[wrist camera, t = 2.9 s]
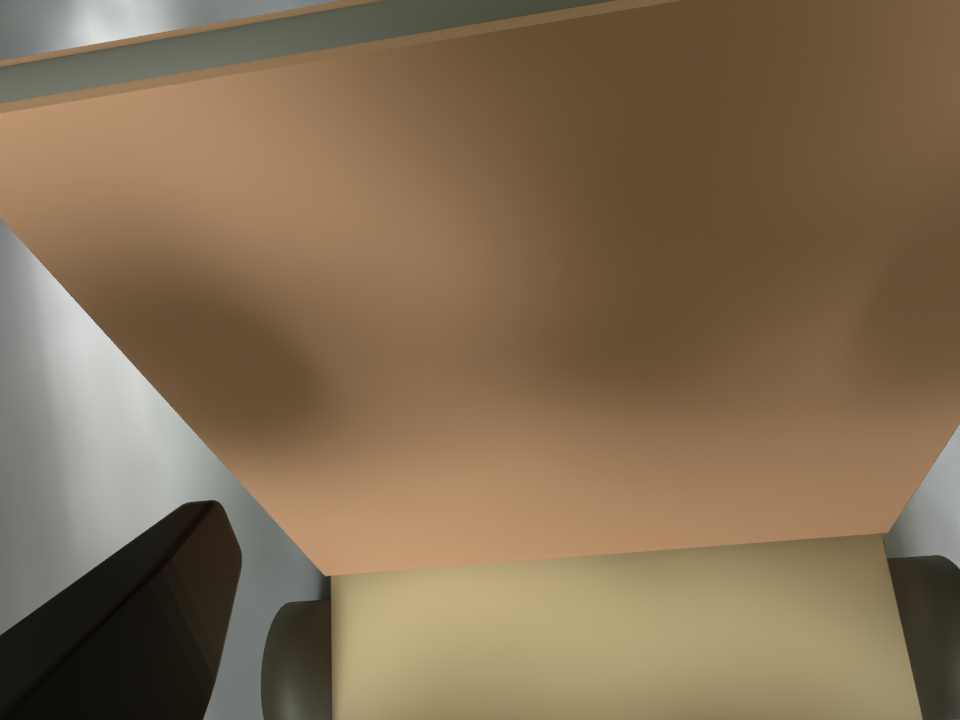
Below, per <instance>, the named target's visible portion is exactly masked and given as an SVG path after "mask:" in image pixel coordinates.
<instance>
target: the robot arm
mask: <svg viewBox="0 0 960 720" xmlns="http://www.w3.org/2000/svg"><path fill="white" fill-rule="evenodd" d="M241 568H242V553H241V549H240V546H239V543H238V541H237V538H236V536H235V534H234V531H233V529H232V526H231V524H230V521H229V519H228V517H227V514H226V512H225V510H224V508H223V506H222V505H221V504H220V503H219V502H217V501H215V500H208V501H197V502H188V503H185V504H183V505H181V506H180V507H178V508H177V509H176V510H174V511H173V512H171V513H170V514H169V515H167V516H166V517H164V518H163V519H162V520H160V521H159V522H157V523H156V524H155V525H153V526H152V527H150V528H149V529H148V530H146V531H145V532H144V533H142V534H141V535H139V536H138V537H137V538H135V539H134V540H132V541H131V542H130V543H128V544H127V545H125V546H124V547H123V548H121V549H120V550H119V551H117V552H116V553H114V554H113V555H112V556H110V557H109V558H107V559H106V560H105V561H103V562H102V563H100V564H99V565H98V566H96V567H95V568H93V569H92V570H91V571H89V572H88V573H87V574H85V575H84V576H82V577H81V578H80V579H78V580H77V581H75V582H74V583H73V584H71V585H70V586H68V587H67V588H66V589H64V590H63V591H61V592H60V593H59V594H57V595H56V596H55V597H53V598H52V599H50V600H49V601H48V602H46V603H45V604H43V605H42V606H41V607H39V608H38V609H36V610H35V611H34V612H32V613H31V614H29V615H28V616H27V617H25V618H24V619H23V620H21V621H20V622H18V623H17V624H16V625H14V626H13V627H11V628H10V629H9V630H7V631H6V632H4V633H3V634H2V635H0V720H203V718H204V716H205V713H206V710H207V707H208V704H209V701H210V698H211V694H212V691H213V688H214V685H215V682H216V678H217V674H218V670H219V666H220V662H221V658H222V653H223V649H224V644H225V640H226V636H227V631H228V627H229V622H230V618H231V613H232V609H233V604H234V600H235V595H236V591H237V587H238V582H239V578H240V573H241Z"/></svg>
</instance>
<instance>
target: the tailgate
mask: <svg viewBox="0 0 960 720" xmlns="http://www.w3.org/2000/svg"><path fill="white" fill-rule="evenodd" d="M0 218H1V219H2V220H3V221H4V222H5V223H6V224H7V226H8V227H9V228H10V229H11V230H12V231H13V232H14V233H15V234H16V235H17V237H18V238H19V239H20V240H21V241H22V242H23V243H24V244H25V245H26V246H27V248H28V249H29V250H30V251H31V252H32V253H33V254H34V255H35V256H36V258H37V259H38V260H39V261H40V262H41V263H42V264H43V265H44V266H45V267H46V269H47V270H48V271H49V272H50V273H51V274H52V275H53V276H54V277H55V279H56V280H57V281H58V282H59V283H60V284H61V285H62V286H63V287H64V288H65V290H66V291H67V292H68V293H69V294H70V295H71V296H72V297H73V298H74V299H75V301H76V302H77V303H78V304H79V305H80V306H81V307H82V308H83V309H84V311H85V312H86V313H87V314H88V315H89V316H90V317H91V318H92V319H93V320H94V322H95V323H96V324H97V325H98V326H99V327H100V328H101V329H102V330H103V332H104V333H105V334H106V335H107V336H108V337H109V338H110V339H111V340H112V341H113V343H114V344H115V345H116V346H117V347H118V348H119V349H120V350H121V351H122V353H123V354H124V355H125V356H126V357H127V358H128V359H129V360H130V361H131V362H132V364H133V365H134V366H135V367H136V368H137V369H138V370H139V371H140V372H141V373H142V375H143V376H144V377H145V378H146V379H147V380H148V381H149V382H150V383H151V385H152V386H153V387H154V388H155V389H156V390H157V391H158V392H159V393H160V394H161V396H162V397H163V398H164V399H165V400H166V401H167V402H168V403H169V404H170V406H171V407H172V408H173V409H174V410H175V411H176V412H177V413H178V414H179V415H180V417H181V418H182V419H183V420H184V421H185V422H186V423H187V424H188V425H189V426H190V428H191V429H192V430H193V431H194V432H195V433H196V434H197V435H198V436H199V438H200V439H201V440H202V441H203V442H204V443H205V444H206V445H207V446H208V447H209V449H210V450H211V451H212V452H213V453H214V454H215V455H216V456H217V457H218V459H219V460H220V461H221V462H222V463H223V464H224V465H225V466H226V467H227V468H228V470H229V471H230V472H231V473H232V474H233V475H234V476H235V477H236V478H237V480H238V481H239V482H240V483H241V484H242V485H243V486H244V487H245V488H246V489H247V491H248V492H249V493H250V494H251V495H252V496H253V497H254V498H255V499H256V500H257V502H258V503H259V504H260V505H261V506H262V507H263V508H264V509H265V510H266V512H267V513H268V514H269V515H270V516H271V517H272V518H273V519H274V520H275V521H276V523H277V524H278V525H279V526H280V527H281V528H282V529H283V530H284V531H285V533H286V534H287V535H288V536H289V537H290V538H291V539H292V540H293V541H294V542H295V544H296V545H297V546H298V547H299V548H300V549H301V550H302V551H303V552H304V553H305V555H306V556H307V557H308V558H309V559H310V560H311V561H312V562H313V563H314V565H315V566H316V567H317V568H318V569H319V570H320V571H321V572H322V573H323V574H324V576H332V575H345V574H358V573H371V572H384V571H397V570H410V569H423V568H436V567H449V566H462V565H475V564H488V563H501V562H514V561H527V560H540V559H553V558H566V557H579V556H592V555H605V554H618V553H631V552H644V551H657V550H670V549H683V548H696V547H709V546H722V545H735V544H748V543H762V542H775V541H788V540H801V539H814V538H827V537H840V536H853V535H866V534H879V533H888V532H889V531H890V529H891V528H892V526H893V525H894V523H895V522H896V520H897V519H898V517H899V516H900V514H901V512H902V511H903V509H904V508H905V506H906V505H907V503H908V502H909V500H910V499H911V497H912V496H913V494H914V493H915V491H916V490H917V488H918V487H919V485H920V484H921V482H922V481H923V479H924V478H925V476H926V475H927V473H928V471H929V470H930V468H931V467H932V465H933V464H934V462H935V461H936V459H937V458H938V456H939V455H940V453H941V452H942V450H943V449H944V447H945V446H946V444H947V443H948V441H949V440H950V438H951V437H952V435H953V434H954V432H955V430H956V429H957V427H958V426H959V424H960V0H344V1H339V2H333V3H327V4H321V5H316V6H310V7H304V8H299V9H293V10H287V11H282V12H276V13H270V14H264V15H259V16H253V17H247V18H242V19H236V20H230V21H225V22H219V23H213V24H207V25H202V26H196V27H190V28H185V29H179V30H173V31H168V32H162V33H156V34H150V35H145V36H139V37H133V38H128V39H122V40H116V41H111V42H105V43H99V44H93V45H88V46H82V47H76V48H71V49H65V50H59V51H54V52H48V53H42V54H37V55H31V56H25V57H19V58H14V59H8V60H2V61H0Z"/></svg>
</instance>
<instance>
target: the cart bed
mask: <svg viewBox="0 0 960 720" xmlns="http://www.w3.org/2000/svg"><path fill="white" fill-rule="evenodd" d="M261 700H262V710H263V716H264V720H960V569H959V568H958V567H957V566H956V565H955V564H954V563H953V562H951V561H950V560H949V559H947V558H945V557H943V556H939V555H933V556H919V557H905V558H892V559H887V558H886V553H885V549H884V544H883V540H882V535H881V533H879V534H866V535H853V536H840V537H827V538H814V539H801V540H788V541H775V542H762V543H748V544H735V545H722V546H709V547H696V548H683V549H670V550H657V551H644V552H631V553H618V554H605V555H592V556H579V557H566V558H553V559H540V560H527V561H514V562H501V563H488V564H475V565H462V566H449V567H436V568H423V569H410V570H397V571H384V572H371V573H358V574H345V575H332V576H331V599H328V600H314V601H300V602H290V603H287V604H285V605H283V606H282V607H281V608H280V610H279V611H278V612H277V614H276V616H275V618H274V620H273V622H272V624H271V627H270V630H269V632H268V636H267V640H266V644H265V649H264V654H263V661H262V672H261Z"/></svg>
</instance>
